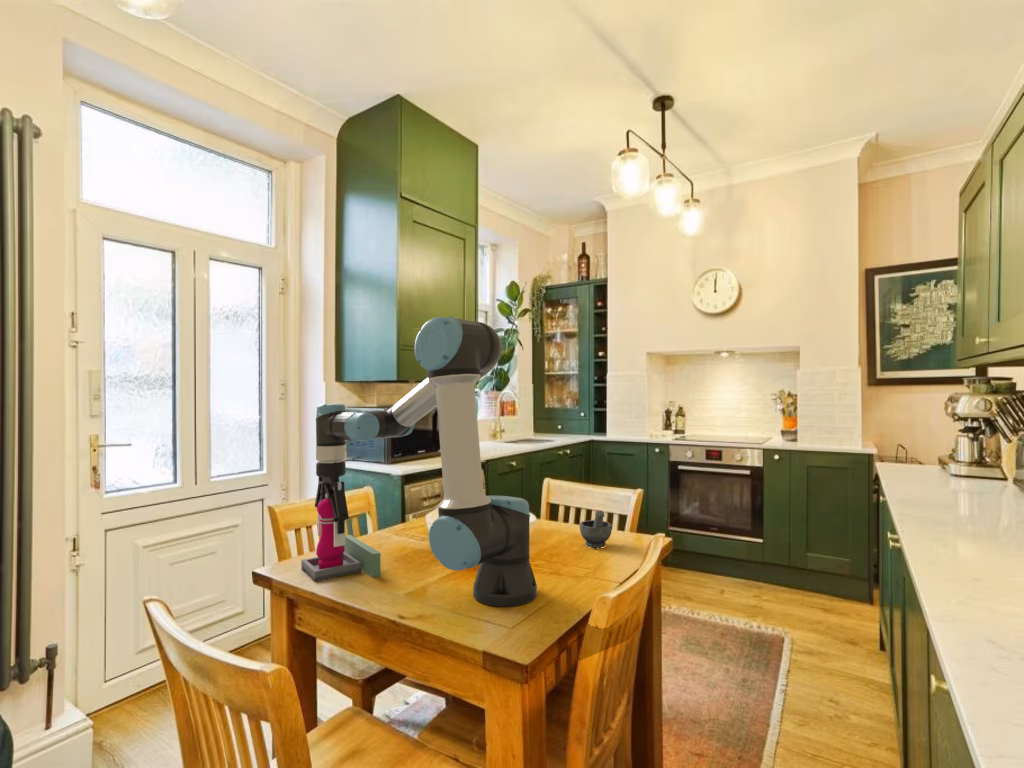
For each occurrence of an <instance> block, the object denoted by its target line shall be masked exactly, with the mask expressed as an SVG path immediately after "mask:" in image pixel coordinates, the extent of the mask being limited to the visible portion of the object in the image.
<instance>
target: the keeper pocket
mask: <svg viewBox="0 0 1024 768" xmlns="http://www.w3.org/2000/svg"><path fill="white" fill-rule="evenodd" d="M341 557H342V558H343V565H340V566H335V567H330V568H325V569H319V561H320V560H321V559H320V558H319V557H318V556H316V557H311V558H305V559H301V560H300V561H301V571H302V572H304V573H305V574H306V575H307V576H308V577H309V576H310V577H311V578H312V579H313V580H312V579H311V578H310V577H309V578H310V579H311V580H312V581H313V582H315V581H316V582H320V581H319V580H321V581H324V580H323V579H326V580H329V579H328V578H330V579H334V578H333V577H335V578H339V577H338V576H340V577H343V575H344V576H349V575H353V573H354V574H358V572H359V573H361V572H362V569H361V562H359V561H358V560H356V559H355V558H353V557H352V556H350V555H349V554H348V553H346V552H344V553H343V554H342V556H341ZM348 574H349V575H348Z"/></svg>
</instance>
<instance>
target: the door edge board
mask: <svg viewBox="0 0 1024 768" xmlns="http://www.w3.org/2000/svg"><path fill="white" fill-rule="evenodd" d="M344 548H345V551H344V552H346V553H348V554H349V555H350V556H352V557H353V558H355V559H356V560H358V561H359V562H361V571H364V573H366V574H368V575H369V576H370V577H371V578H377V576H378V577H381V552H379V551H378V550H376V549H375V548H373V547H372V546H370V545H369V544H367V543H365V542H363V541H362V540H360V539H358V538H357V537H355V536H354V535H352V534H347V535H346V534H345V545H344Z"/></svg>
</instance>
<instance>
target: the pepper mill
mask: <svg viewBox="0 0 1024 768" xmlns="http://www.w3.org/2000/svg"><path fill="white" fill-rule="evenodd" d="M325 497H326V499H323V500H321V501H320V502H319V504H318V506H317V507H316V510H317V515H318V514H319V515H320V516H321V517H320V518H319V519H320V523H321V525H322V533H321V535H320V538H319V540H318V542H317V546H316V552H315V553H316V557H319V558H320V559H321V560H320V561H319V569H325V568H330V567H335V566H340V565H343V558H342V557H341V556H342V554H343V553H344V551H345V548H344V545H343V546H337V547H334V522H333V519H334V518H335V516H334V512H333V508H332V504H331V500H330V499H328V495H327V493H326V494H325Z"/></svg>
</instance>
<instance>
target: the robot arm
mask: <svg viewBox="0 0 1024 768" xmlns="http://www.w3.org/2000/svg"><path fill="white" fill-rule="evenodd" d="M502 349H503V346H502V342H501V338H500V335H499V334H498V333H497V331H496V330H495V329H494V328H493V326H491V325H489V324H487V323H484V322H480V321H472V320H468V319H462V318H456V317H453V316H448V317H447V316H446V317H445V316H436V317H433V318H431V319H429V320H427V321H426V322H425V323H424V324H423V325H422V327H421V329H419V330H418V333H417V335H416V338H415V342H414V356H415V360H416V361H417V363H419V366H420V367H421V368H423V369H424V370H426V372H427V377H426V378H425V379H423V381H421V382H420V383H419V384H418V385H417V386H416V387H414V388H413V389H412V390H410V391H409V392H408V393H407V394H406V395H404V396H403V397H402V398H400V400H398V401H397V402H396V403H395V404H393V405H392V406H391V407H390V408H388V409H385V410H375V411H374V410H373V411H347V408H346V405H345V404H343V403H321V404H319V405H318V406H317V407H316V413H315V414H316V416H315V442H316V444H315V460H316V461H317V462H316V463H315V470H316V471H315V474H316V475H315V476H317V477H318V478H317V479H318V485H317V489H316V497H315V502H314V507H315V508H317V506H318V504H319V502H320V501H321V500H323V499H326V497H325V494H326V493H327V495H328V499H330V500H331V504H332V508H333V512H334V516H335V518H334V519H333V522H334V547H337V546H343V545H345V536H346V520H349V517H350V516H349V510H348V504H347V503H348V502H347V499H346V492H345V482H344V481H340V477H343V476H344V475H345V474H346V461H344V460H345V459H346V452H347V451H348V448H347V447H346V443H347V442H346V441H351V442H357V443H361V442H363V443H364V442H370V441H372V440H378V439H388V438H390V439H391V438H403V437H405V436H408V435H411V434H412V432H413V430H414V428H415V425H416V423H417V422H418V421H420V420H421V419H422V418H424V417H425V416H427V414H428V415H429V413H431V412H432V411H433V410H435V409H437V421H438V435H439V448H440V459H441V460H440V461H441V473H442V485H443V487H442V488H443V498H442V499H441V501H440V502H439V503H438V505H437V513H438V517H437V518H436V519H435V520H434V521H433V522H432V524H431V526H430V527H429V531H428V542H429V546H430V549H431V552H432V554H433V556H434V558H435V559H436V560H438V561H439V563H440V564H441V565H442V566H443V567H444V568H446V569H448V570H451V571H455V572H457V571H458V572H459V571H464V570H467V569H471V568H475V567H476V566H478V565H479V567H478V569H477V572H476V575H475V576H476V577H475V581H474V582H473V587H472V589H473V591H472V593H473V595H472V596H473V598H474V599H475V600H476V601H477V602H479V603H481V604H484V605H487V606H493V607H516V606H521V605H525V604H528V603H530V602H532V601H534V600H535V599H536V597H538V596H537V595H538V584H537V581H536V577H535V574H534V571H533V568H532V565H531V561H530V518H531V514H530V504H529V502H528V501H527V500H526V499H524V498H522V497H518V496H517V497H515V496H508V495H507V496H506V495H486V494H485V492H484V485H483V483H484V482H483V471H482V470H483V469H482V459H481V448H480V447H481V446H480V437H479V435H480V434H479V423H478V413H477V402H476V401H477V400H476V399H477V398H476V387H475V385H476V383H477V382H478V381H479V380H481V379H482V378H483V377H485V376H486V375H487V374H488V373H489V372H490V371H492V370H493V369H494V368H495V367H496V365H497V364H498V362H499V360H500V359H501V357H502V356H501V354H502ZM320 517H321V516H320V515H319V514H318V513H317V536H321V533H322V525H321V523H320V519H319V518H320Z"/></svg>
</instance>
